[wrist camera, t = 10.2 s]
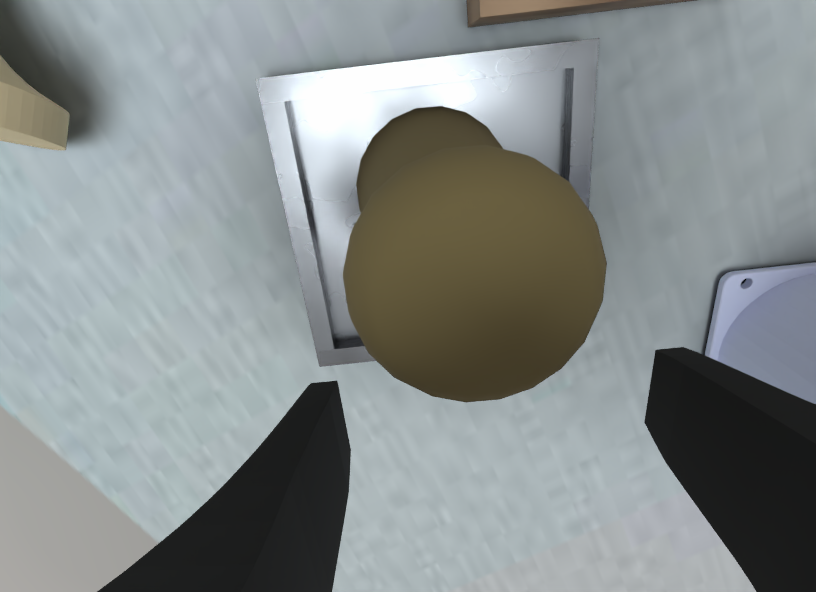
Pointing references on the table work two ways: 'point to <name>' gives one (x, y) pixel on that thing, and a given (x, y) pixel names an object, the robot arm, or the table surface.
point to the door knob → (29, 114)
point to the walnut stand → (544, 9)
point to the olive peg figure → (468, 260)
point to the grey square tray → (393, 96)
